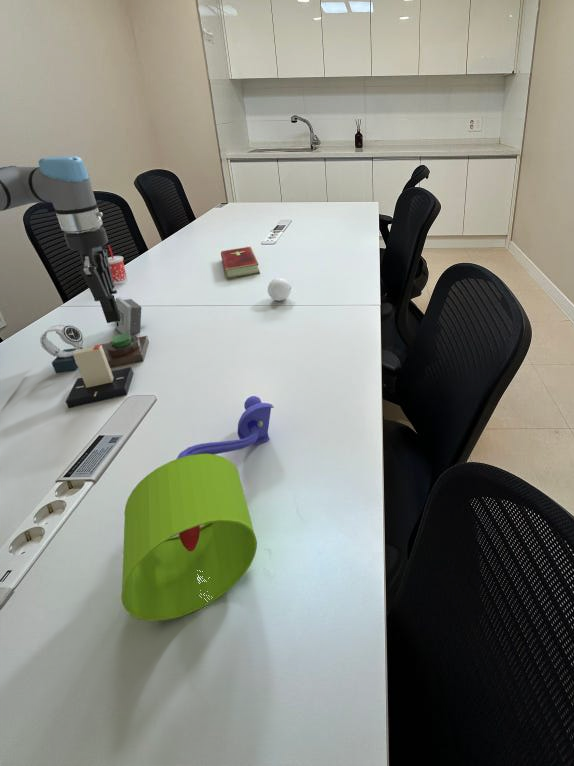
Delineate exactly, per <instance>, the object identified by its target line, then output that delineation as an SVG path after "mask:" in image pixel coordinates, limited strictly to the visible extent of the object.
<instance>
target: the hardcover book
mask: <svg viewBox="0 0 574 766" xmlns="http://www.w3.org/2000/svg"><path fill="white" fill-rule="evenodd" d="M220 257H221V261H222V266H223V270H224V274H225V277H226V278H225V279H227V280H232V279H233V280H234V279H237V278H243V277H250V276H253V275H259V274H261V272H260V269H259V262H258V259H257V257H256V255H255V252H254V251H253V248H252V246H245V247H239V248H233V249H227V250H221V251H220Z"/></svg>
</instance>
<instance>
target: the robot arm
mask: <svg viewBox="0 0 574 766" xmlns="http://www.w3.org/2000/svg"><path fill="white" fill-rule="evenodd" d="M84 163H85V162H84V160H83V159H82V158H81V157H80V156H77V155H54V156H45V157H41V158H40V159H39V160H38V166H16V165H8V166H0V212H3V211H8V210H10V209H14V208H19V207H21V206H25V205H29V204H37V203H38V204H41V203H42V204H43V203H44V204H52V206H53V208H54V211H55V214H56V218H57V220H58V224H59V226H60V229H61V231H62V232H64V233H63V237H64V239H65V242H66V245H67V248H68V249H70V250H72V251H77V252H79V255H80V256H79V261H80V263H81V265H82V267H79V269H78V270H79V273H80V274H81V275H82V276H83V278H84V280H85V282H86V284H87V287H88V289H89V291H90V293H91V295H92V298H93V301H94V302H99V303H100V307H101V310H102V312H103V316H104V318H105V321H106V323H107V324H111V323H115V322H117V321H120V319H121V316H120V313H119V310H118V307H117V304H116V297H115V294H116V295H117V294H118V290H117V289H115V284H114V283H113V279H112V274H111V270H110V266H109V261H108V258H109V257H108V250H107V249H106V248H103V246H105V245H107V244H108V242H109V238H108V235H107V232H106V229H105V227H104V226H102V225H103V224H104V223H103V220H102V217H104V214H103V212H101V211H99V206H98V203H97V200H96V198H95V194H94V190H93V186H92V183H91V179H90V174H89V173H88V171H87V167H86V165H85V164H84ZM114 289H115V290H114Z"/></svg>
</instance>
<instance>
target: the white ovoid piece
mask: <svg viewBox="0 0 574 766" xmlns="http://www.w3.org/2000/svg"><path fill="white" fill-rule="evenodd" d="M267 285H268V286H267V294H268V296H269V297H270V298H271V299H272V300H274V301H277V302H280V301H281V302H282V301H284V300H286V299H287V298H288V297H289V296H290V295H291V292H292V291H291V290H292V287H291V284H290V282H289V281H288V280H287V279H285V278H282V277H276V278H273V279H272V280H271V281H270V282H269V283H268V284H267Z"/></svg>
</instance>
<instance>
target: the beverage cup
mask: <svg viewBox="0 0 574 766" xmlns="http://www.w3.org/2000/svg"><path fill="white" fill-rule="evenodd" d="M107 247H108V250H109V254H110V256H109V257H108V261H109V266H110V270H111V274H112V279H113V283H114V285H122V284H124V283H126V282H128V276H127V273H126V268H125V264H124V257H123V256H122V255H113V251H112V249H111V245H108V246H107Z"/></svg>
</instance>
